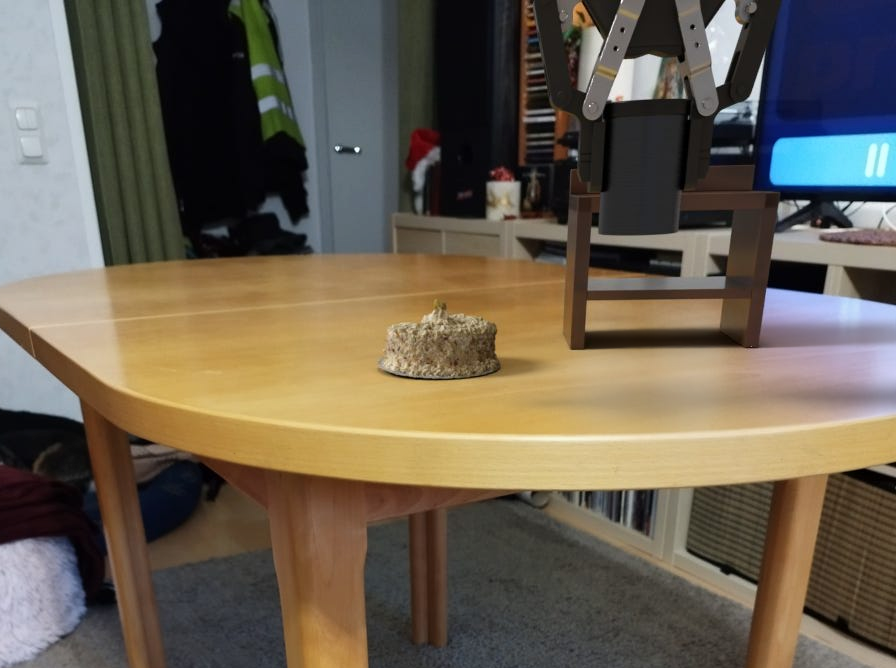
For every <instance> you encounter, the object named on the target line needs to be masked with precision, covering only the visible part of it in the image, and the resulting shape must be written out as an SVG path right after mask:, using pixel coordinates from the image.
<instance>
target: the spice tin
mask: <svg viewBox="0 0 896 668" xmlns="http://www.w3.org/2000/svg"><path fill="white" fill-rule="evenodd" d="M690 111H691V100H690V99H687V98H647V99H645V98H643V99H631V100H630V99H629V100H619V101H611V102H606V105H605V107H604V110H603V114H602V120H603V122H606V128H605V146H604V163H603V181H602V191H601V193H600V207H599V212H598V227H597V228H598V229H597V234H598V235H599V236H600V235H601V236H615V237H617V236H619V237H621V236H622V237H630V236H631V237H632V236H633V237H636V236H639V237H641V236H660V235H672V234H677V233H678V232H679V224H680V215H681V214H680V213H681V211H680V203H681V192H682V181H683V169H684V158H685V147H686V136H687V125H688V120H689V115H690Z"/></svg>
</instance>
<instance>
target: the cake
mask: <svg viewBox="0 0 896 668" xmlns="http://www.w3.org/2000/svg"><path fill="white" fill-rule="evenodd" d="M447 308H448V307H447V302H443V301H441V300H439V299H437V298H435V299H434V301H433V311H432V312H431V313H428V314H424V316H423V317H422V320H421V321H420V322H412V321H406V322H405V321H402V322H401V323H395V324H392V323H391V326H388V328H387V329H386V339H384V341H385V344H384V345H385V347H384V348H383V349H382V353H384V356H382V357H381V358H379V359H378V360H377V362H376V365H377V366H378V368H381V370H382V371H386V372H388V373H392V374H395V375H396V376H398V375H399V376H403V377H411V378H421V379H422V378H423V379H434V380H437V379H439V380H440V379H453V378H454V379H463V378H472V377H477V376H484V375H488V374H492V373H494V372H495V371H498V370H499V369H500V368H501V366H502V364H501V362H500V360H499V358H498V355H497V353H495V352H496V350H497V348H496V340H497V339H496V335H497V334H498V330H499V329H498V328H497V325H496V323H495V322H490V321H489V320H487V319H484V318H483V316H479V315H469V314H468V315H465V313H455V314H453V313H451V312H448V311H447Z"/></svg>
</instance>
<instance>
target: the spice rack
mask: <svg viewBox="0 0 896 668" xmlns="http://www.w3.org/2000/svg"><path fill="white" fill-rule="evenodd" d="M755 169H756V165H755V164H741V165H738V164H737V165H733V164H732V165H709V170H708V172H707V174H706V177H705V179H697V185H696V189H695V190H682V192H681V203H680V212H686V211H687V212H689V211H690V212H691V211H693V212H694V211H733V214H732V223H731V232H730V237H729V238H730V239H729V248H728V254H727V255H728V256H727V263H726V271H725V275H724V276H667V277H666V276H665V277H663V276H662V277H604V278H603V277H601V278H600V277H599V278H597V277H595V278H589V270H590V253H591V240H592V239H591V238H592V237H591V236H592V223H593V222H592V221H593V220H592V219H593V213H599V207H600V193H588V191H587V183H588V182H580V180H579V177H578V174H577V168H573V169H570V173H569V174H570V176H569V195H568V197H569V198H568V215H567V216H568V217H567V235H566V236H567V237H566V255H565V257H566V258H565V276H564V277H565V279H564V299H563V317H562V320H563V321H562V333H563V335H564V337H565V339H566V342H567V344H568V347H569V349H570V350H584V349H585V341H586V340H585V339H586V324H587V323H586V321H587V305H588V304H587V303H588V301H647V300H648V301H655V300H657V301H661V300H664V301H665V300H667V301H668V300H722V304H721V313H720V322H719V329H718V330H719V331H720V332H722V333H723V334H724V335H726V336H727V335H728V336H727V337H729V338H730V337H731V338H730V339H732V340H733V341H734V342H736V343H737V342H738V345H740V344H741V345H740V346H742V345H743V346H744V347H743V346H742V347H743V348H745V347H751V346H752V347H757V348H759V344H760V340H761V339H760V338H761V330H762V323H763V316H764V309H765V303H766V295H767V288H768V281H769V274H770V267H771V261H772V254H773V246H774V240H775V233H776V232H775V231H776V225H777V217H778V211H779V203H780V197H781V192H780V191H769V190H753V184H754V176H755Z"/></svg>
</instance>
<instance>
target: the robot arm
mask: <svg viewBox="0 0 896 668" xmlns="http://www.w3.org/2000/svg"><path fill="white" fill-rule="evenodd" d="M726 1H727V0H533V3H532V13H533V18H534V22H535V29H536V34H537V39H538V40H537V41H538V44H539V51H540V57H541V63H542V68H543V73H544V79H545V84H546V89H547V94H548V100H549V104H550V107H551V108H552V109H553V110H555V111H559V112H562V113H565V114H567V115H570V116H572V117H573V118H574V119H575V120H576V122H577V125H578V143H577V144H578V145H577V164H576V165H577V167H576V169H577V174H578V177H579V180H580V182H588V183H587V191H588V193H601V191H602V181H603V163H604V146H605V128H606V122H604V121H603V110H604V107H605V105H606V103H608V99H609V97H610V94H611V92H612V88H613V86H614V83H615V79H616V78H617V76H618V74H619V72H620V69H621V66H622V63H623V61H624V60H635V59H638V58H641V57H644V56H648V55H651V56H654V57H658V58H661V59H664V58H665V59H667V58H675V63H676V66H677V71H678V74H679V77H680V79H681V81H682V85H683V90H684V93H685V99H690V100H691V111H690V115H689V116H688V125H687V136H686V147H685V158H684V169H683V181H682V190H695V189H696V185H697V179H705V177H706V174H707V172H708V170H709V166H710V163H711V153H712V144H713V143H712V142H713V134H714V124H715V120H716V118H717V116H718V115H719V113H720V112H722V111H723V110H725V109H727V108H729V107H732V106H734V105H737V104H740V103H743V102H745V101H747V100H748V99H749V98H750V97H751V95H752V93H753V90H754V86H755V83H756V80H757V77H758V74H759V71H760V68H761V66H762V63H763V59H764V56H765V53H766V51H767V47H768V44H769V41H770V38H771V35H772V32H773V29H774V26H775V24H776V20H777V17H778V15H779V11H780V8H781V5H782V2H783V0H733V1H734V4H735V8H734V9H735V10H734V19H735V21H736V22H737V23H738V24H739V25H741V29H740V32H739V36H738V38H737V42H736V45H735V48H734V51H733V54H732V57H731V61H730V64H729V67H728V69H727V73H726V77H725V79H724V82H723V84H721V85H718V86H716V81H715V78H714V73H713V68H712V63H713V62H712V61H713V60H712V55H711V50H710V46H709V41H708V37H707V36H708V35H707V32H706V29H707V28H708V26H709V25H710V24H711V22H712V21H713V20H714V18H715V17H716V15H717V14H718V13H719V11H720V9H721V8H722V7H723V5H724V3H726ZM580 3H581V4H582V6H583V7H584V10H585V11H586V13H587V15H588V16H589V18H590V20H591V21H592V23H593V25H594V27H595V28H596V30H597V31H598V34H599V35H600V37H601V38H602V43H601V46H600V49H599V51H598V54H597V57H596V60H595V63H594V66H593V67H592V68H593V69H592V71H591V74H590V78H589V80H588V83H587V86H586V89H585V92H584V91H581V90H580V89H577V88H575V87H573V86H572V81H571V76H570V75H571V74H570V70H569V69H570V68H569V64H568V58H567V52H566V47H565V40H564V36H563V35H564V33H565V32H567V31H568V30H570V27H571V25H572V23H573V21H574V10H575V7H576V6H577V5H578V4H580Z"/></svg>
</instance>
